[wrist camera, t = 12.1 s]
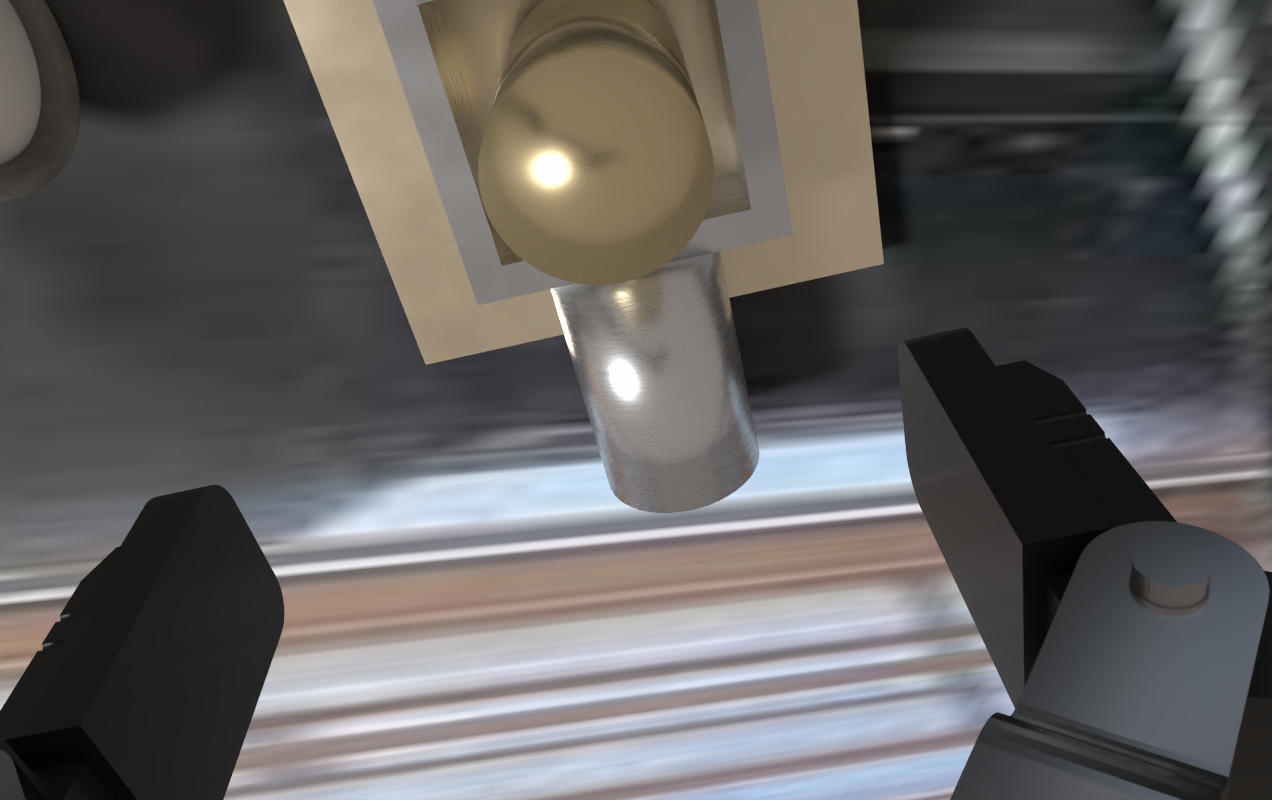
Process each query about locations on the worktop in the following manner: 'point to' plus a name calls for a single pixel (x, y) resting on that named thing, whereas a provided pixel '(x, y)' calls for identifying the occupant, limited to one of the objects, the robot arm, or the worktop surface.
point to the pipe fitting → (34, 98)
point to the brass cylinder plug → (595, 143)
